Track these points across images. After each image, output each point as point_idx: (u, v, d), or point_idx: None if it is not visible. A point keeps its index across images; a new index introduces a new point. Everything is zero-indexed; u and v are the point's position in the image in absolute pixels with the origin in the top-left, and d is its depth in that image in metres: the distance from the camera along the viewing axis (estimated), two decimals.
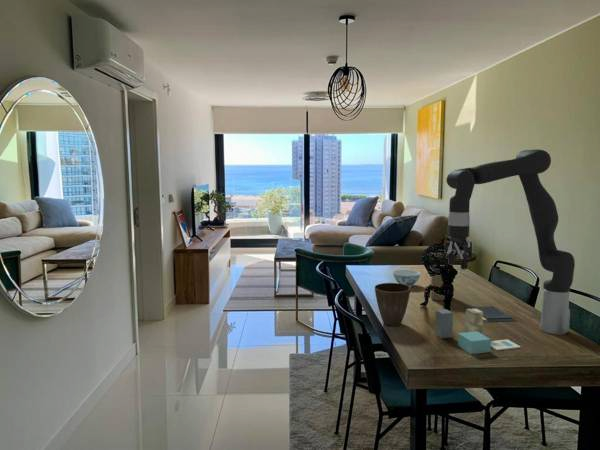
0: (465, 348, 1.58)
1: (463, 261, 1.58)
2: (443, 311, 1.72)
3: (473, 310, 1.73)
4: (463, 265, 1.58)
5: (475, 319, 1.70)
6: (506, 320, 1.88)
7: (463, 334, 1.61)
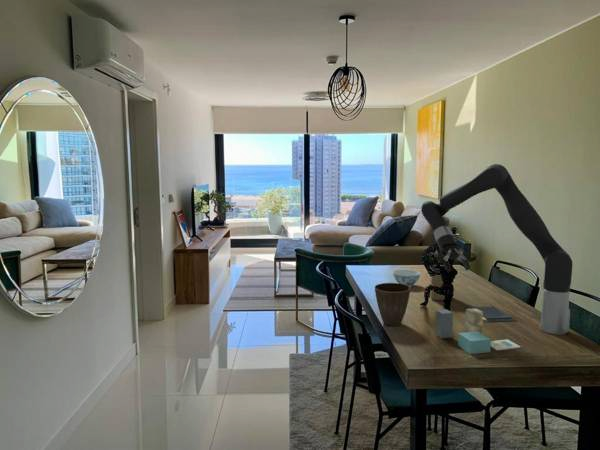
0: (465, 348, 1.58)
1: None
2: (443, 311, 1.72)
3: (473, 310, 1.73)
4: None
5: (475, 319, 1.70)
6: (506, 320, 1.88)
7: (463, 334, 1.61)
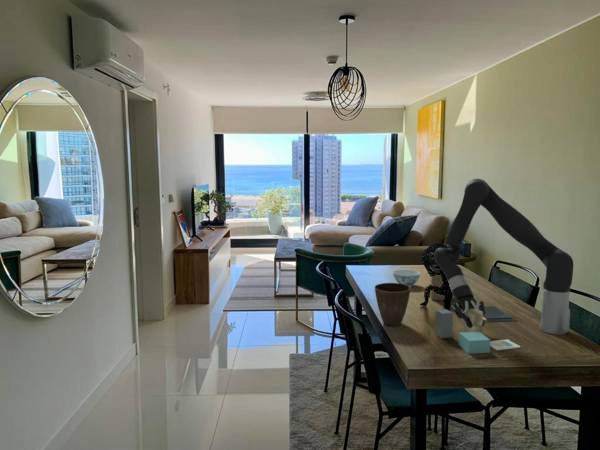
0: (464, 347, 1.59)
1: None
2: (443, 311, 1.72)
3: (473, 309, 1.73)
4: None
5: (475, 319, 1.70)
6: (506, 320, 1.89)
7: (463, 334, 1.62)
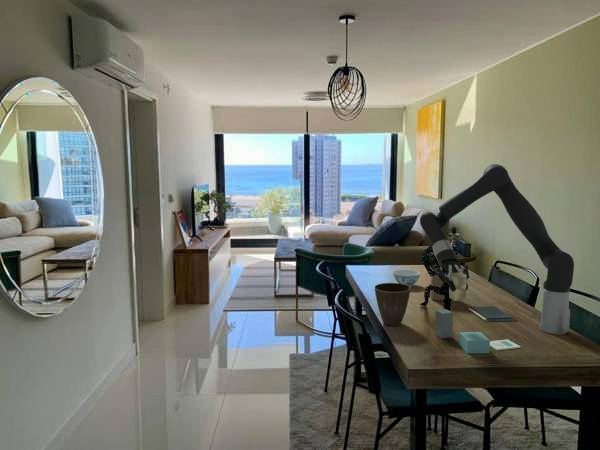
0: (463, 347, 1.59)
1: None
2: (443, 311, 1.72)
3: (456, 273, 1.69)
4: None
5: (458, 282, 1.66)
6: (506, 320, 1.89)
7: (464, 333, 1.62)
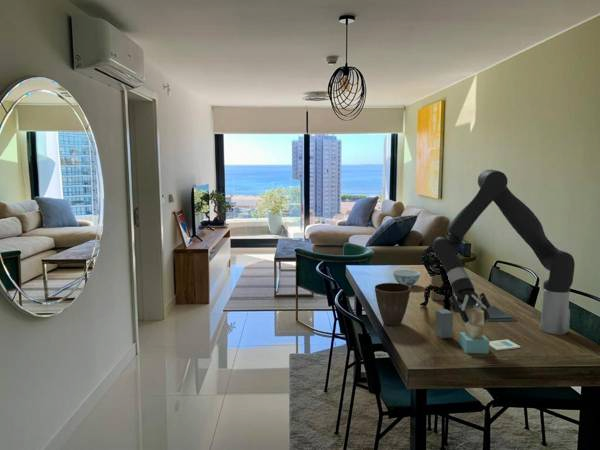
0: (463, 347, 1.59)
1: None
2: (443, 311, 1.72)
3: (473, 308, 1.60)
4: None
5: (475, 318, 1.57)
6: (506, 320, 1.89)
7: (464, 333, 1.62)
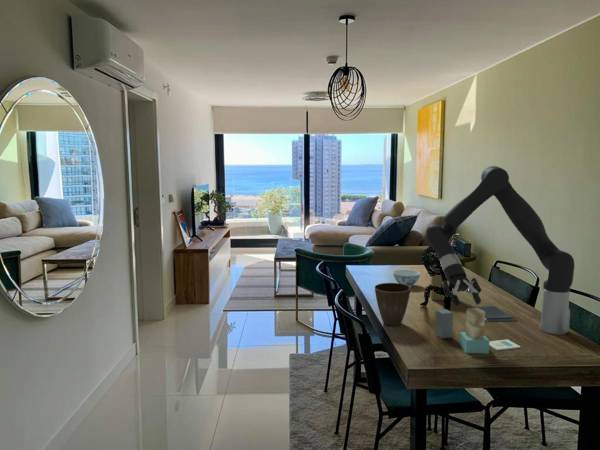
0: (463, 347, 1.59)
1: None
2: (443, 311, 1.72)
3: (474, 309, 1.59)
4: None
5: (476, 319, 1.56)
6: (506, 320, 1.89)
7: (464, 333, 1.62)
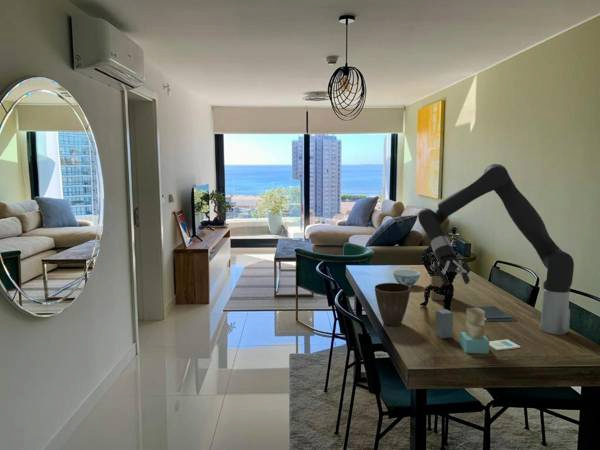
0: (463, 347, 1.60)
1: None
2: (443, 311, 1.72)
3: (474, 308, 1.59)
4: None
5: (476, 318, 1.57)
6: (506, 320, 1.89)
7: (464, 333, 1.62)
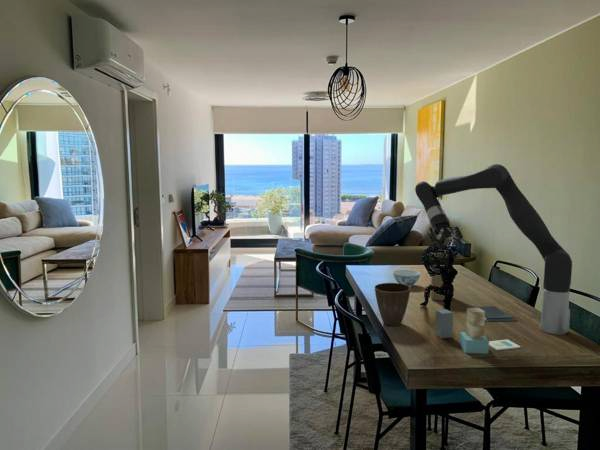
0: (463, 347, 1.60)
1: None
2: (443, 311, 1.72)
3: (474, 309, 1.59)
4: None
5: (476, 319, 1.56)
6: (506, 320, 1.89)
7: (464, 333, 1.62)
